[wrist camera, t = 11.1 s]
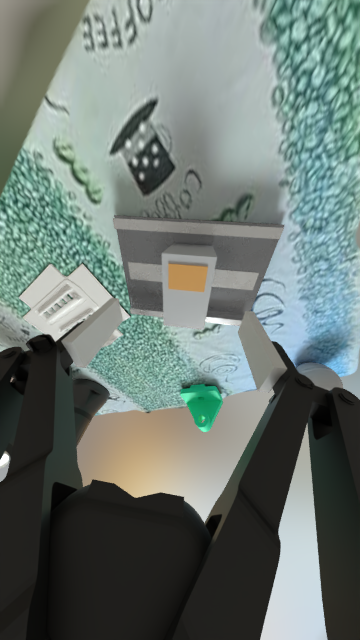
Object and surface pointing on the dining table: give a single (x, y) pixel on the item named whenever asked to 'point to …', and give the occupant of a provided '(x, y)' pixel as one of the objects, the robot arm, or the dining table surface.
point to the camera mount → (203, 404)
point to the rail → (226, 238)
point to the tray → (56, 287)
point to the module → (187, 284)
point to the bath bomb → (320, 375)
